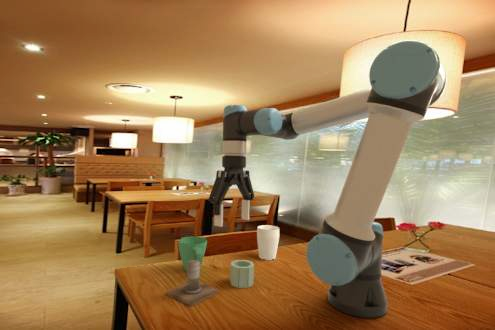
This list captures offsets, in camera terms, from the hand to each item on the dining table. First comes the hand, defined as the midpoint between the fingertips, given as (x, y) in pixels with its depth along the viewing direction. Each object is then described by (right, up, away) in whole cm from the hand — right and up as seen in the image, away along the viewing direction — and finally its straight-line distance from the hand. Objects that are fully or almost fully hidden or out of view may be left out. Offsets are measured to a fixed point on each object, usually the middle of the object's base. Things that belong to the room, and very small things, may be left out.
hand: (232, 222), depth 92 cm
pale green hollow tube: (+3, -19, -1) cm, 19 cm away
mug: (-14, -18, +7) cm, 24 cm away
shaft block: (-11, -18, -10) cm, 23 cm away
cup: (+12, -19, +24) cm, 33 cm away
